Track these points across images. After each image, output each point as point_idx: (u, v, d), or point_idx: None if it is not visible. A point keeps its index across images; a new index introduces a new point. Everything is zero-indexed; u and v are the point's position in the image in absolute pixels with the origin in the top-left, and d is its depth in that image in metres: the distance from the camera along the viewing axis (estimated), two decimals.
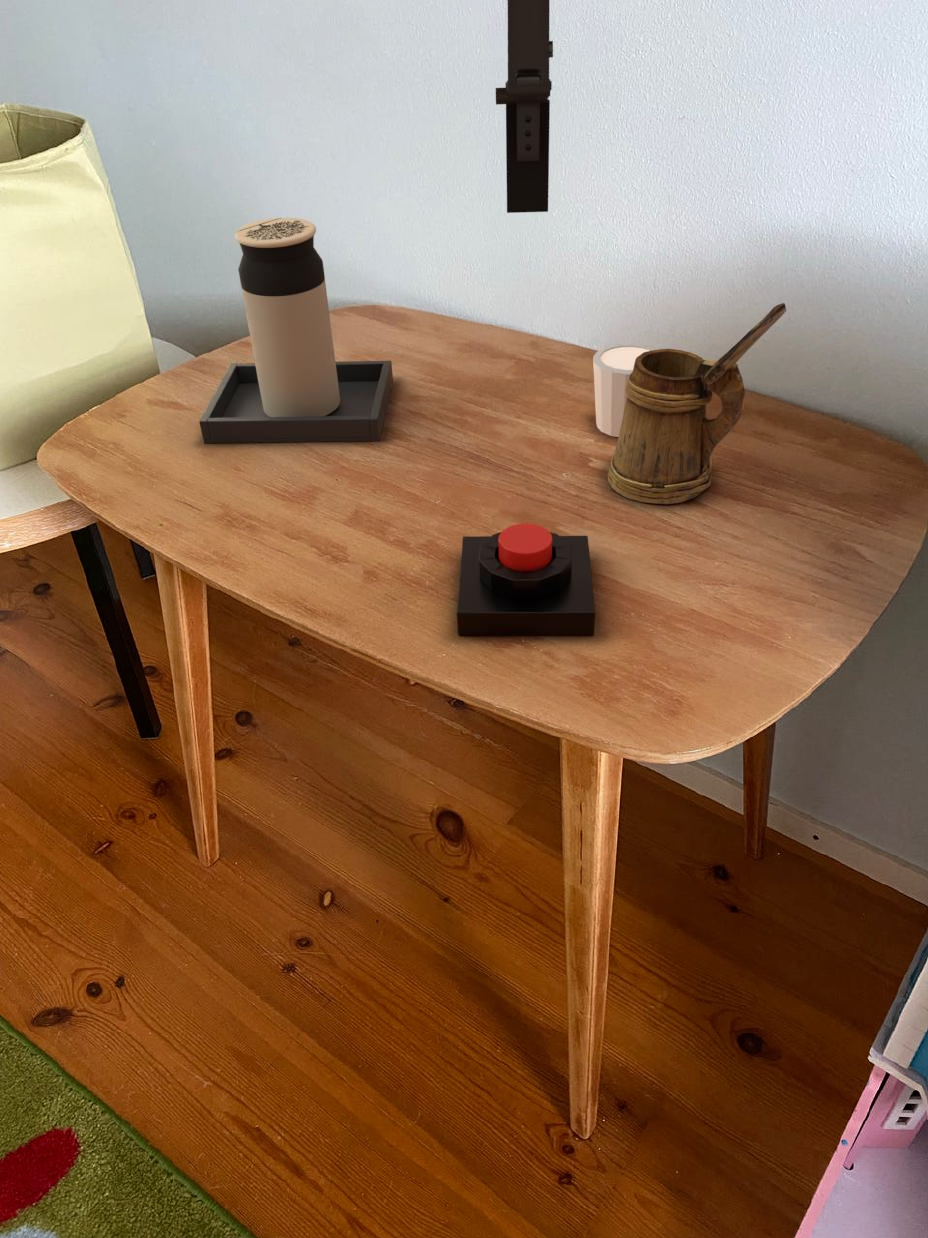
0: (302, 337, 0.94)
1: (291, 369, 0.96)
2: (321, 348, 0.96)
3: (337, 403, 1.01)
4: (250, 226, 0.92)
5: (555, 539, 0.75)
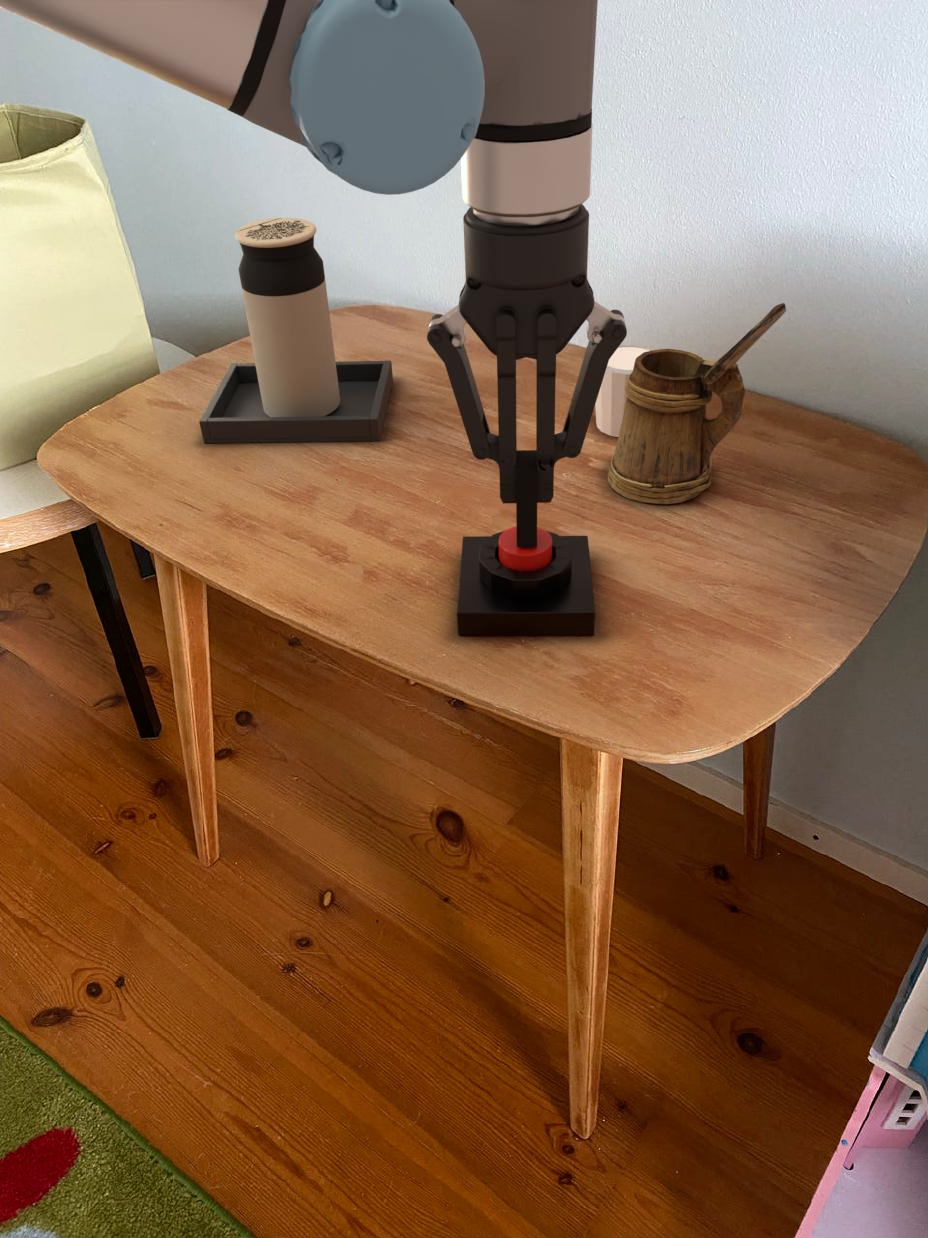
0: (302, 337, 0.94)
1: (291, 369, 0.96)
2: (321, 348, 0.96)
3: (337, 403, 1.01)
4: (251, 226, 0.92)
5: (555, 539, 0.75)
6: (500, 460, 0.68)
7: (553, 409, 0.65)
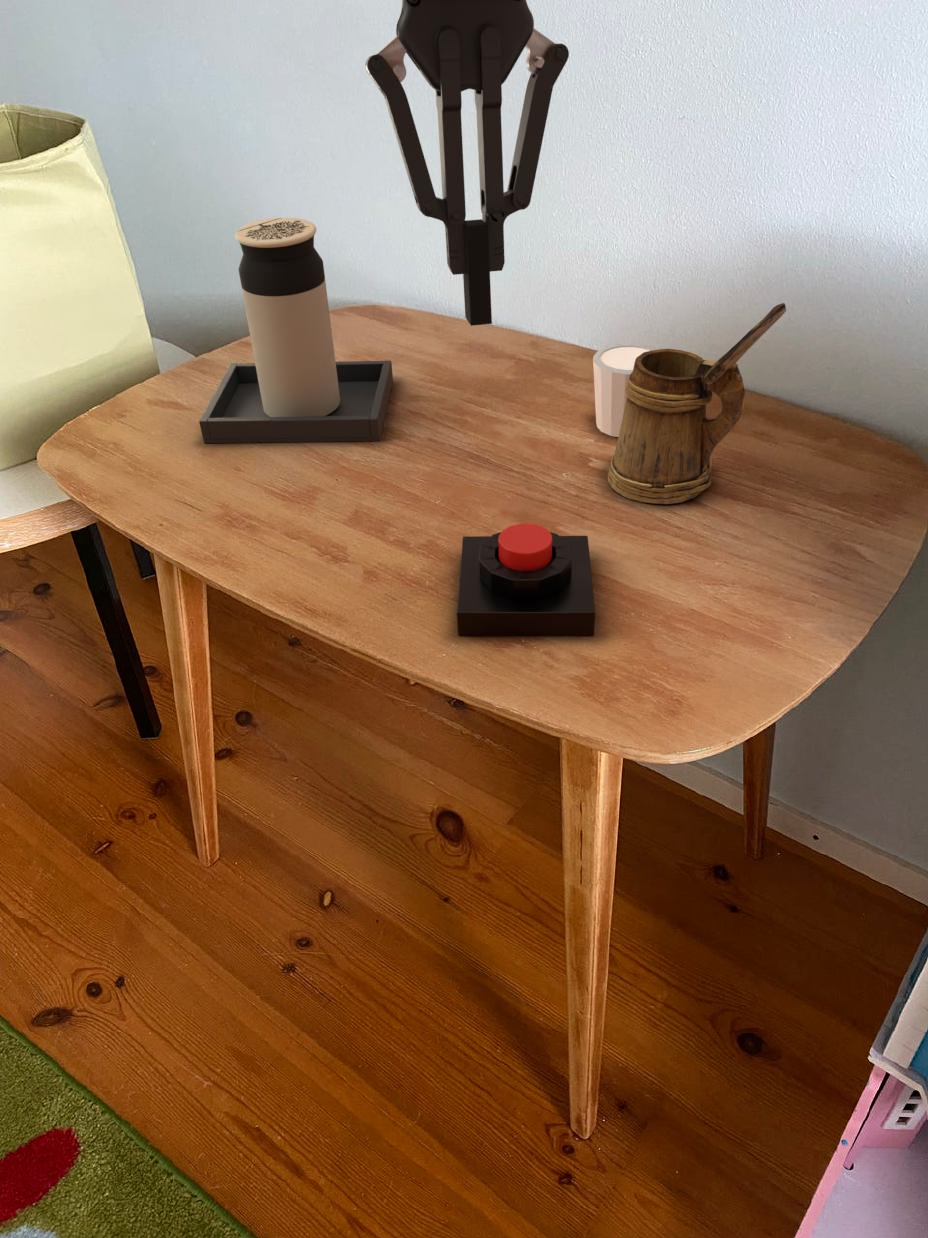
0: (302, 337, 0.94)
1: (291, 369, 0.96)
2: (321, 348, 0.96)
3: (337, 403, 1.01)
4: (251, 226, 0.92)
5: (555, 539, 0.75)
6: (449, 216, 0.65)
7: (500, 149, 0.64)
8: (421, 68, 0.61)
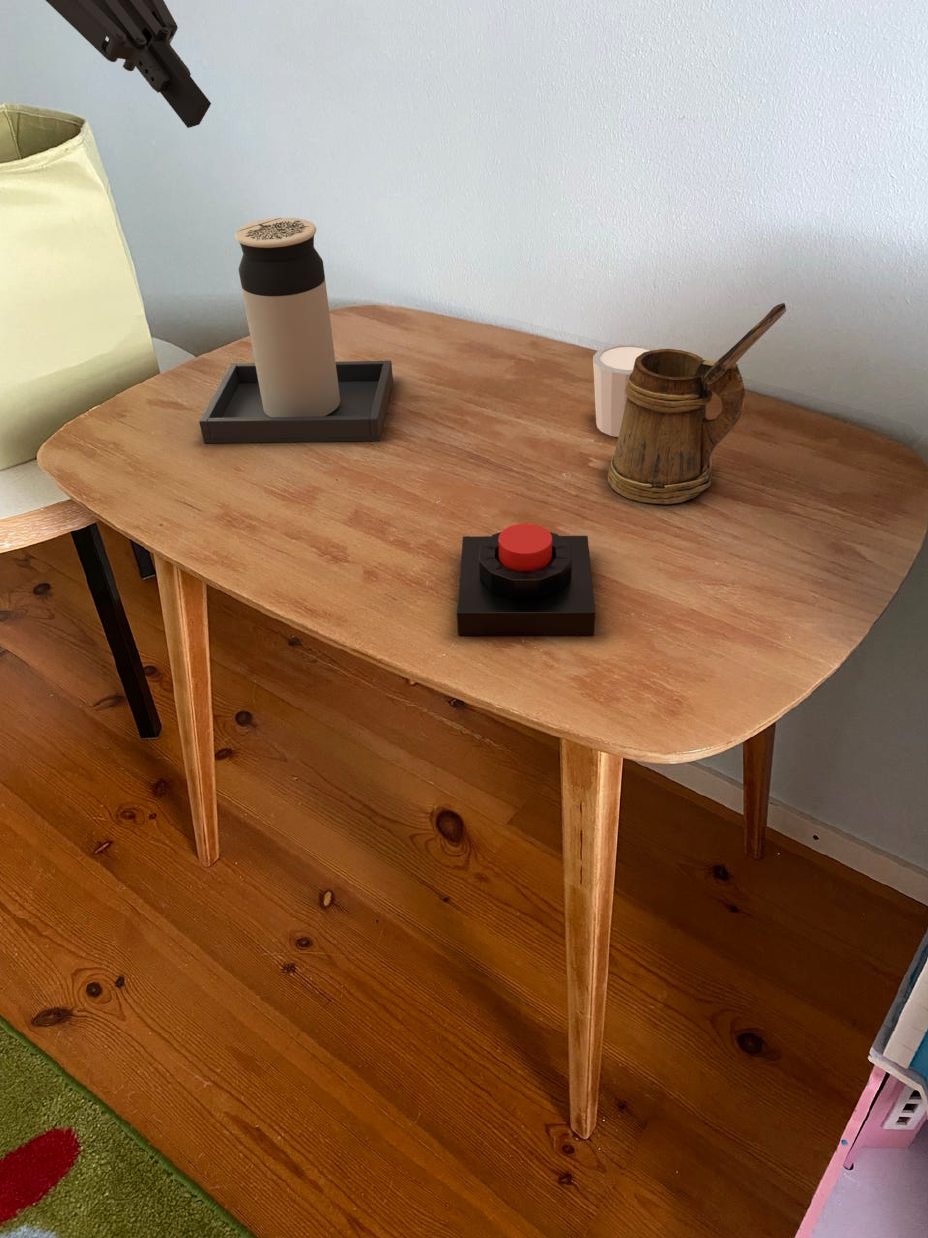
0: (302, 337, 0.94)
1: (291, 369, 0.96)
2: (321, 348, 0.96)
3: (337, 403, 1.01)
4: (251, 226, 0.92)
5: (555, 539, 0.75)
6: (135, 39, 0.85)
7: None
8: None
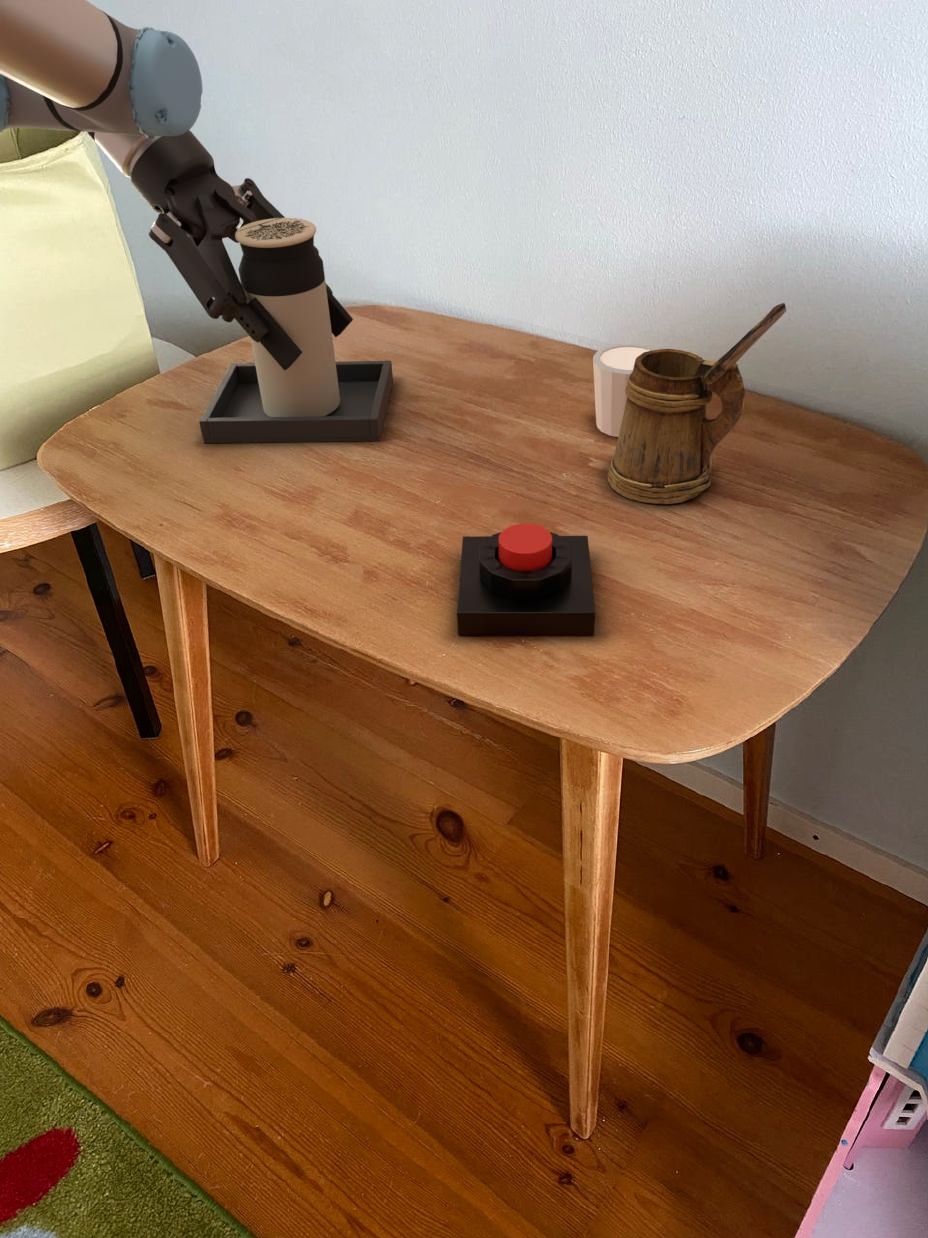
0: (302, 337, 0.94)
1: (291, 369, 0.96)
2: (321, 348, 0.96)
3: (337, 403, 1.01)
4: (251, 226, 0.92)
5: (555, 539, 0.75)
6: (236, 296, 0.91)
7: None
8: (197, 224, 0.92)
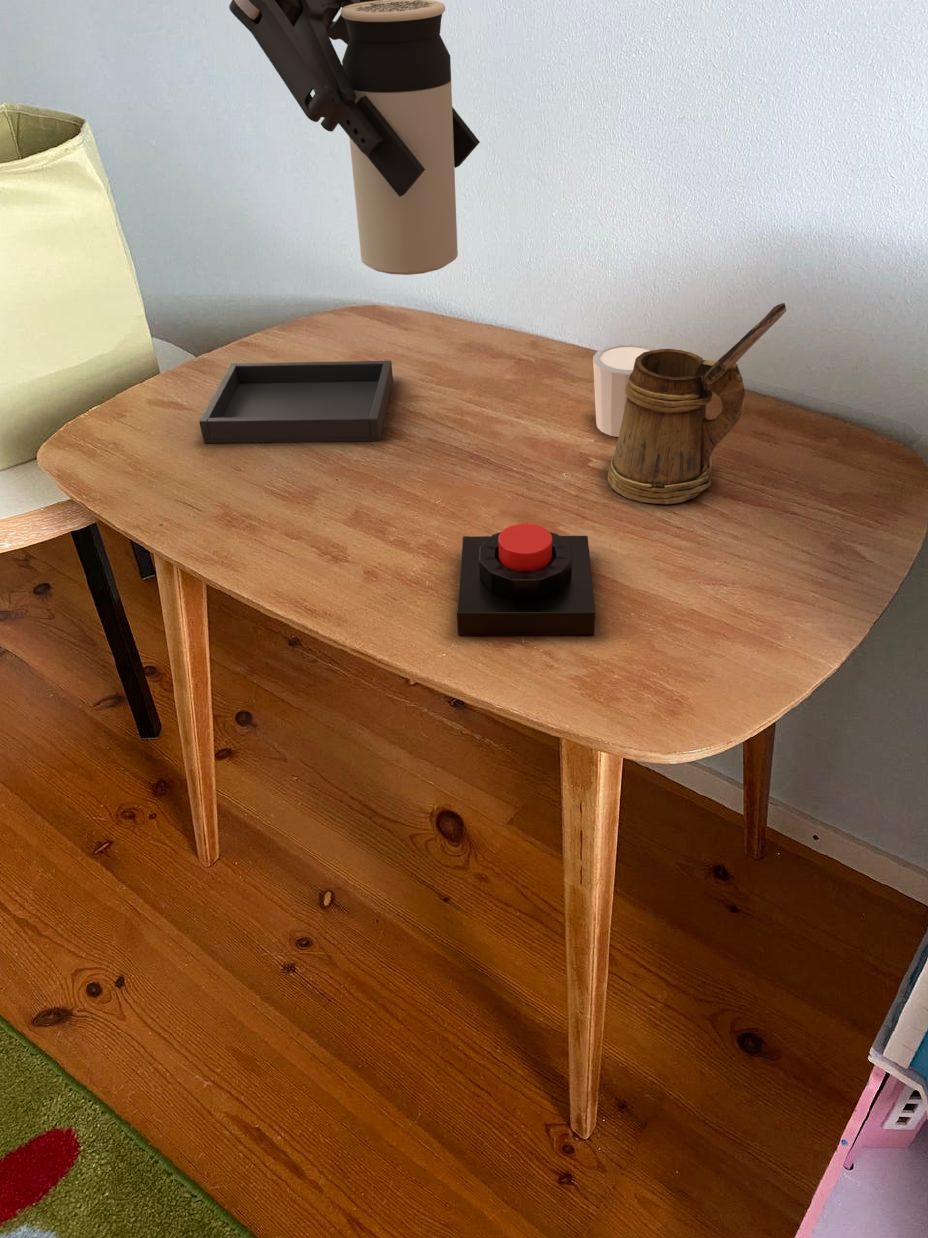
0: (422, 153, 0.73)
1: (406, 198, 0.75)
2: (443, 172, 0.75)
3: (455, 253, 0.80)
4: (359, 4, 0.71)
5: (555, 539, 0.75)
6: (343, 91, 0.69)
7: None
8: (291, 0, 0.70)
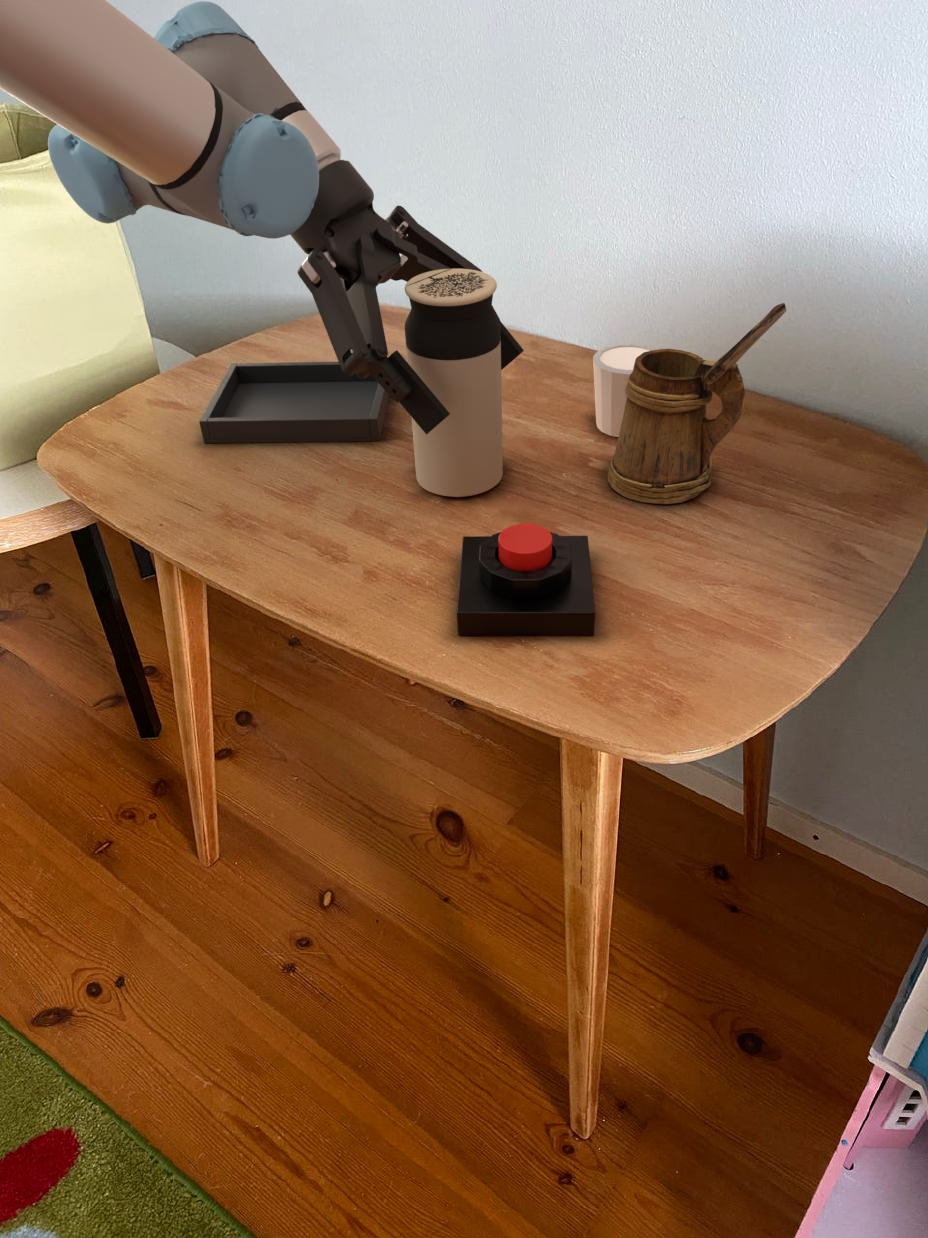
0: (475, 404, 0.82)
1: (460, 440, 0.84)
2: (493, 416, 0.84)
3: (501, 474, 0.89)
4: (420, 279, 0.81)
5: (555, 539, 0.75)
6: (376, 348, 0.77)
7: (439, 263, 0.86)
8: (359, 270, 0.80)
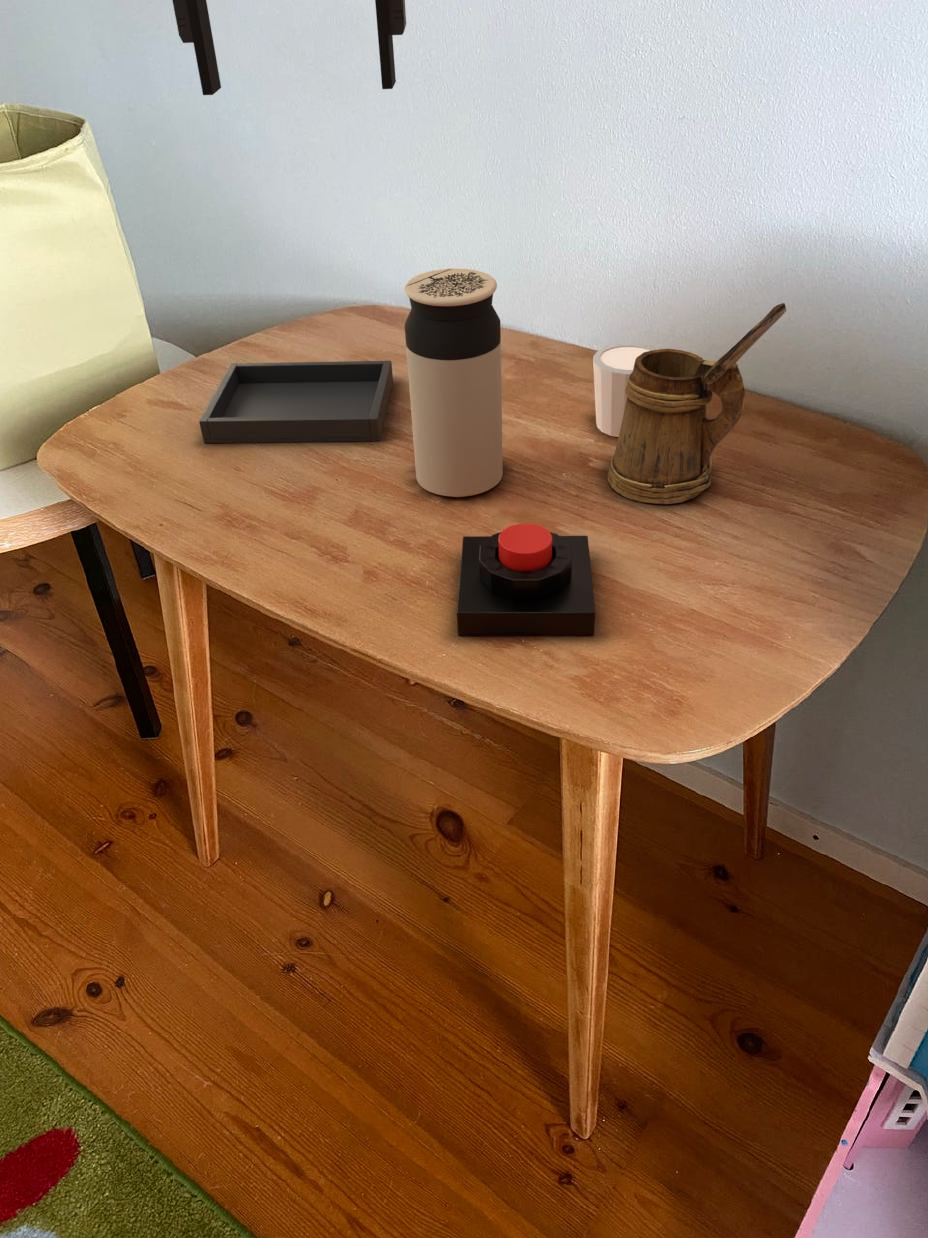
0: (475, 404, 0.82)
1: (460, 440, 0.84)
2: (493, 416, 0.84)
3: (501, 474, 0.89)
4: (420, 279, 0.81)
5: (555, 539, 0.75)
6: None
7: None
8: None
